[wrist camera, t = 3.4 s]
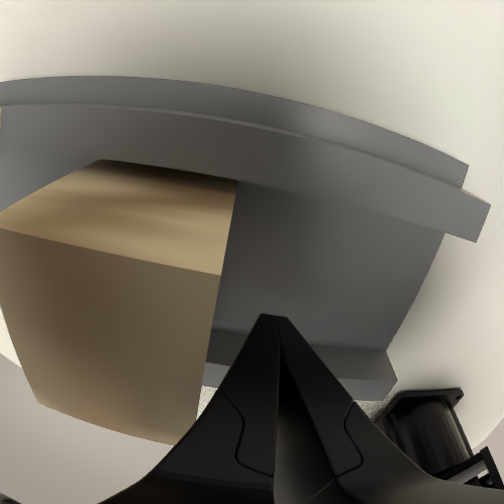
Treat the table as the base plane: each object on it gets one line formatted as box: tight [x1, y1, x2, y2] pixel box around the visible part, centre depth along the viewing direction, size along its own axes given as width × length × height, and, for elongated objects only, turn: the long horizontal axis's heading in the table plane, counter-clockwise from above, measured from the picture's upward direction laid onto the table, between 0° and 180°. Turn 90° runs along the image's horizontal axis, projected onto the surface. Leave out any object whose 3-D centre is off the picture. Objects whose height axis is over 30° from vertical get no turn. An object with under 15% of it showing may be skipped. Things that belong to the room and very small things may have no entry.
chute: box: [0, 76, 491, 400], centre depth 11 cm, size 20×12×3 cm, turn 78°
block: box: [0, 159, 238, 446], centre depth 9 cm, size 5×6×6 cm
